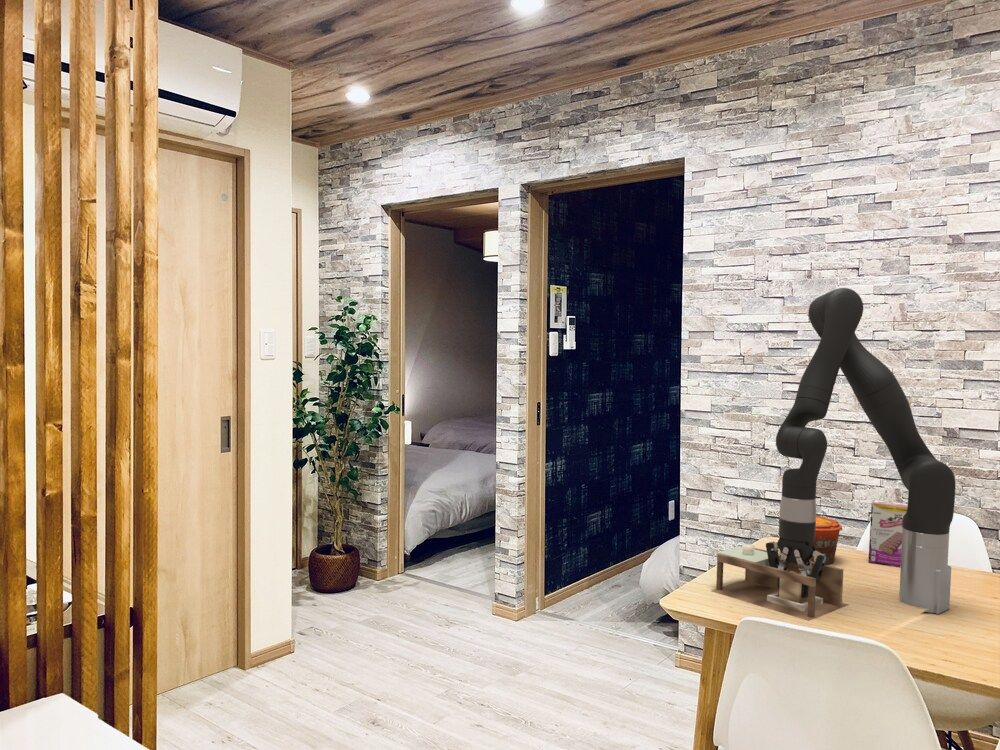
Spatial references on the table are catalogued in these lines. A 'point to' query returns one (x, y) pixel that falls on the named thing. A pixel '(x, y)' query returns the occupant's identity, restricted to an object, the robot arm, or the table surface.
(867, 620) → the table surface
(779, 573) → the brown wooden frame
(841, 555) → the table surface
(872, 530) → the candy bar box
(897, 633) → the table surface
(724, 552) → the sliding cover
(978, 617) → the table surface
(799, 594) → the birch block
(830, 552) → the food container
